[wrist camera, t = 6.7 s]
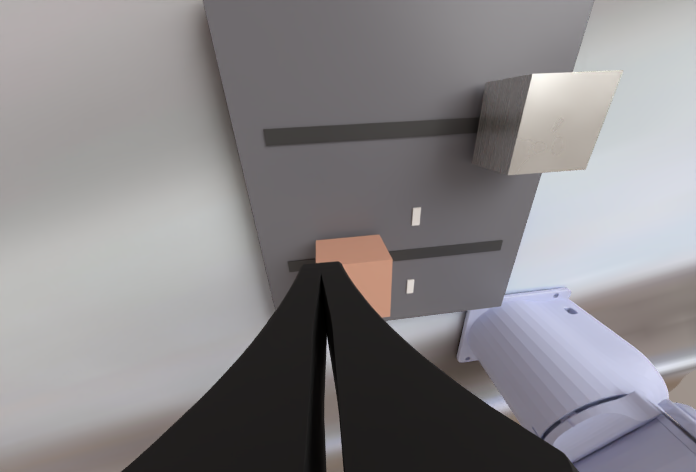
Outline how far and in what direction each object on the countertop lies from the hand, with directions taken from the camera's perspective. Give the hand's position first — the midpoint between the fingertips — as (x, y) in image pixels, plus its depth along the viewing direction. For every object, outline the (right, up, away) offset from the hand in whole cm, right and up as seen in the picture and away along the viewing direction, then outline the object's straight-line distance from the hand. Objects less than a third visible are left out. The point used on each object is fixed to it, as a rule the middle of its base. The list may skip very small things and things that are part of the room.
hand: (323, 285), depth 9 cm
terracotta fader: (+1, 0, +7) cm, 8 cm away
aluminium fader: (+10, +8, +5) cm, 13 cm away
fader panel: (+4, +5, +8) cm, 10 cm away
